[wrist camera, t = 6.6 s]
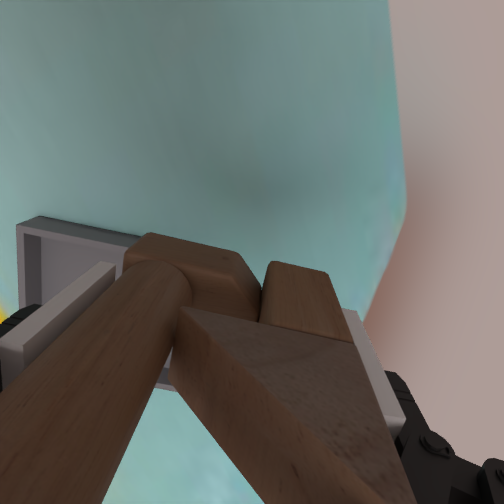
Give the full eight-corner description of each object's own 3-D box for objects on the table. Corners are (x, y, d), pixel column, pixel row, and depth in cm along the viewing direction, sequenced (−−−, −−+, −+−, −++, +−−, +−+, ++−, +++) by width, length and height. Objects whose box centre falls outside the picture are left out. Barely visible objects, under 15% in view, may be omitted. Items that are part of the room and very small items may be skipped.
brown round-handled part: (312, 323, 21) (465, 1063, 4) (141, 285, 21) (-386, 913, 4) (330, 269, 20) (634, 1015, 3) (148, 228, 20) (-561, 797, 3)
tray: (39, 215, 41) (16, 224, 37) (205, 249, 41) (198, 262, 38) (40, 342, 47) (20, 360, 43) (185, 371, 48) (178, 392, 44)
